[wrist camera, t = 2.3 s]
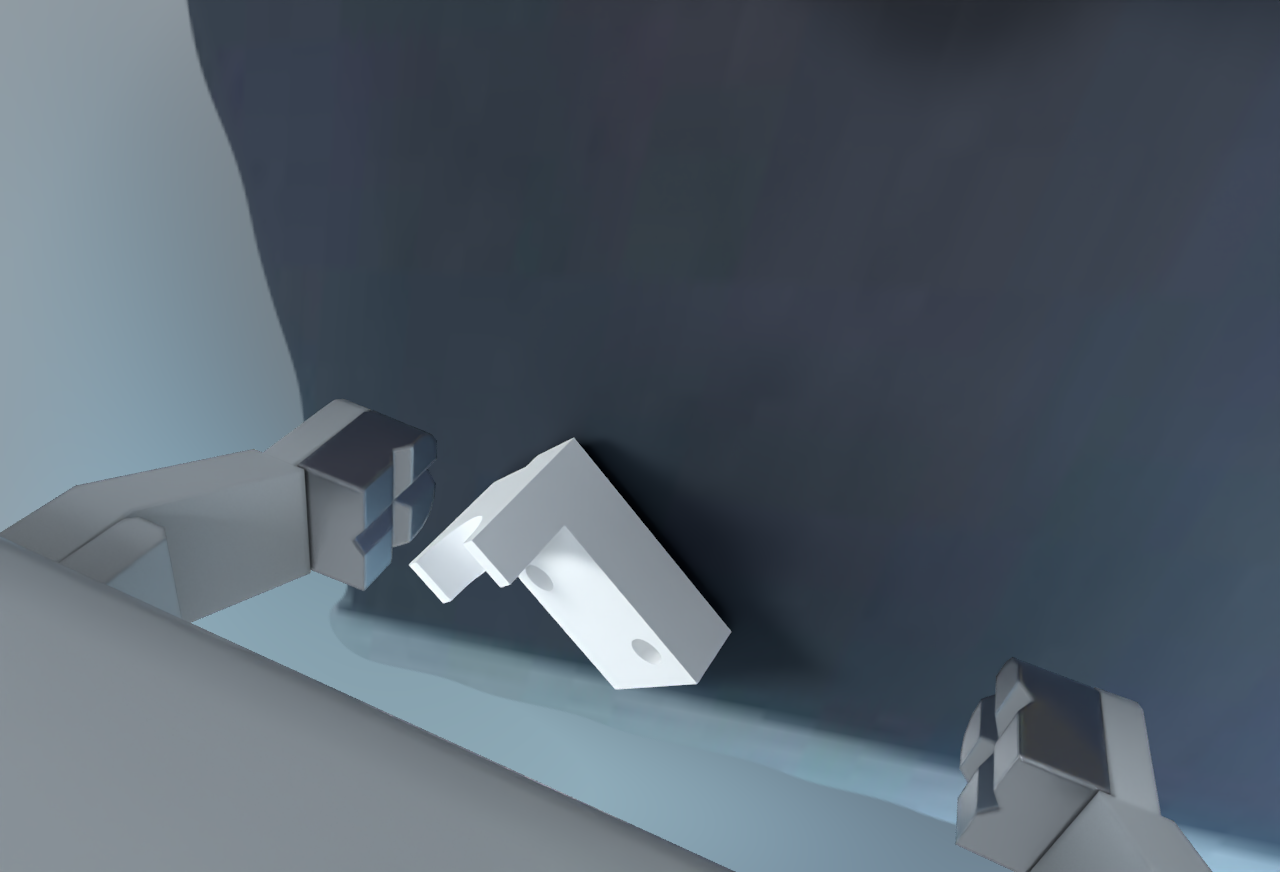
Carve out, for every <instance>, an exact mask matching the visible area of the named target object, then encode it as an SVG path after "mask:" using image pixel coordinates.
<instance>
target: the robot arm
mask: <svg viewBox="0 0 1280 872" xmlns="http://www.w3.org/2000/svg"><path fill="white" fill-rule="evenodd" d="M436 459H437V440H436V439H435V438H434V437H433V435H432V434H430V433H427V432H425V431H422V430H420V429H417V428H415V427H413V426H410V425H408V424H405V423H403V422H400V421H398V420H396V419H393V418H391V417H388V416H386V415H383V414H381V413H379V412H376V411H374V410H373V411H371V410H369V409H367V408H365V407H362V406H360V405H357V404H355V403H353V402H350V401H348V400H345V399H339V400H334V401H332V402H331V403H329V404H328V405H326V406H325V407H324V408H322V409H321V410H320V411H318V412H317V413H316V414H314V415H313V416H312V417H310V418H309V419H307V420H306V421H305V422H303V423H302V424H301V425H299V426H298V427H297V428H295V429H294V430H293V431H291V432H290V433H288V434H287V435H286V436H284V437H283V438H282V439H280V440H279V441H278V442H276V443H275V444H274V445H272V446H271V447H270V448H268V449H267V450H265V451H264V452H263V453H262V452H260V451H257V450H255V449H252V450H247V451H242V452H237V453H232V454H227V455H222V456H217V457H213V458H208V459H203V460H198V461H193V462H189V463H183V464H178V465H174V466H169V467H164V468H159V469H154V470H149V471H145V472H140V473H135V474H130V475H125V476H120V477H115V478H110V479H105V480H101V481H96V482H91V483H86V484H82V485H76V486H74V487H72V488H71V489H69V490H68V491H66V492H64V493H63V494H61V495H60V496H58V497H56V498H55V499H53V500H52V501H50V502H49V503H47V504H45V505H44V506H42V507H40V508H39V509H37V510H36V511H34V512H32V513H31V514H30V515H28V516H26V517H25V518H23V519H21V520H20V521H18V522H17V523H15V524H13V525H12V526H10V527H9V528H7V529H5V530H4V531H2V532H1V533H0V872H735V871H732V870H730V869H728V868H726V867H724V866H721V865H719V864H717V863H715V862H713V861H710V860H708V859H706V858H704V857H702V856H700V855H697V854H695V853H693V852H691V851H689V850H686V849H684V848H682V847H680V846H677V845H676V844H673V843H671V842H669V841H666V840H664V839H662V838H660V837H658V836H656V835H654V834H651V833H649V832H647V831H645V830H643V829H640V828H638V827H636V826H634V825H632V824H630V823H627V822H625V821H623V820H621V819H618V818H616V817H614V816H612V815H610V814H608V813H605V812H603V811H601V810H599V809H597V808H595V807H592V806H590V805H588V804H586V803H583V802H581V801H579V800H577V799H575V798H572V797H570V796H568V795H566V794H564V793H562V792H559V791H557V790H555V789H553V788H551V787H549V786H546V785H544V784H542V783H540V782H538V781H535V780H533V779H531V778H529V777H526V776H524V775H522V774H520V773H518V772H516V771H514V770H511V769H509V768H507V767H505V766H502V765H500V764H498V763H496V762H494V761H492V760H489V759H487V758H485V757H483V756H481V755H478V754H476V753H474V752H472V751H470V750H467V749H465V748H463V747H461V746H459V745H457V744H454V743H452V742H450V741H448V740H445V739H443V738H441V737H439V736H437V735H434V734H432V733H430V732H428V731H426V730H424V729H422V728H419V727H417V726H415V725H413V724H411V723H408V722H406V721H404V720H402V719H400V718H397V717H395V716H393V715H391V714H389V713H386V712H384V711H382V710H380V709H378V708H375V707H373V706H371V705H369V704H367V703H365V702H362V701H360V700H358V699H356V698H353V697H351V696H349V695H347V694H345V693H342V692H341V691H338V690H336V689H334V688H332V687H329V686H327V685H325V684H323V683H321V682H319V681H316V680H314V679H312V678H310V677H308V676H305V675H303V674H301V673H299V672H297V671H295V670H292V669H290V668H288V667H286V666H283V665H281V664H279V663H277V662H275V661H273V660H270V659H268V658H266V657H264V656H261V655H259V654H257V653H255V652H253V651H251V650H248V649H246V648H244V647H242V646H240V645H237V644H235V643H233V642H231V641H229V640H227V639H224V638H222V637H220V636H218V635H216V634H213V633H211V632H209V631H207V630H205V629H202V628H200V627H198V626H196V625H193V624H192V623H191V622H193V621H196V620H198V619H201V618H203V617H206V616H208V615H210V614H213V613H215V612H218V611H220V610H223V609H225V608H227V607H230V606H232V605H235V604H237V603H239V602H242V601H244V600H247V599H249V598H252V597H254V596H256V595H259V594H261V593H264V592H266V591H268V590H271V589H273V588H276V587H278V586H281V585H283V584H285V583H288V582H290V581H293V580H295V579H298V578H300V577H302V576H305V575H307V574H309V573H310V572H311V570H312V571H315V572H318V573H320V574H323V575H325V576H328V577H330V578H333V579H335V580H338V581H341V582H343V583H345V584H348V585H350V586H353V587H355V588H358V589H360V590H363V591H365V590H366V588H367V587H368V586H369V585H370V584H371V583H372V582H373V581H374V580H375V579H376V578H377V577H378V576H379V575H380V574H381V573H382V571H383V570H384V569H385V568H386V567H387V566H388V565H389V564H390V563H391V562H392V547H396V546H399V545H402V544H405V543H409V542H410V541H411V540H412V539H413V538H414V537H415V536H416V535H417V534H418V532H419V531H420V530H421V529H422V527H423V525H424V523H425V521H426V520H427V518H428V516H429V514H430V512H431V509H432V505H433V501H434V497H435V484H436V483H435V481H434V480H433V478H432V476H431V474H430V472H429V470H428V469H427V468H428V467H429V466H430V465H431V464H432V463H433V462H434V461H435V460H436ZM960 770H961V772H962V774H963V775H964V777H965V779H966V780H967V782H968V784H967V785H966V787H965V788H964V790H963V791H962V793H961V794H960V796H959V797H958V802H957V822H956V841H955V844H956V845H958V846H960V847H962V848H964V849H966V850H969V851H971V852H973V853H975V854H977V855H979V856H982V857H984V858H986V859H988V860H990V861H993V862H995V863H997V864H999V865H1001V866H1004V867H1006V868H1008V869H1010V870H1012V871H1014V872H1212V871H1211V869H1210V868H1209V867H1208V865H1207V864H1206V863H1205V861H1204V860H1203V859H1202V858H1201V856H1200V855H1199V854H1198V852H1197V851H1196V850H1195V848H1194V847H1193V846H1192V844H1191V843H1190V842H1189V840H1188V839H1187V838H1186V836H1185V835H1184V834H1183V832H1182V831H1181V830H1180V828H1179V827H1178V826H1177V825H1176V823H1175V822H1174V821H1172V820H1170V819H1167V818H1165V817H1162V816H1161V812H1160V806H1159V800H1158V794H1157V789H1156V783H1155V777H1154V771H1153V765H1152V759H1151V753H1150V748H1149V742H1148V736H1147V730H1146V724H1145V718H1144V712H1143V709H1142V708H1141V707H1140V705H1139V704H1138V703H1137V702H1135V701H1132V700H1129V699H1126V698H1124V697H1121V696H1118V695H1115V694H1113V693H1110V692H1107V691H1104V690H1102V689H1099V688H1096V687H1095V688H1092V687H1091V686H1088V685H1086V684H1083V683H1080V682H1078V681H1075V680H1072V679H1070V678H1067V677H1064V676H1062V675H1059V674H1057V673H1054V672H1051V671H1049V670H1046V669H1043V668H1041V667H1038V666H1035V665H1033V664H1030V663H1027V662H1025V661H1022V660H1019V659H1017V658H1014V657H1012V658H1010V659H1009V660H1008V661H1007V662H1006V663H1005V664H1004V665H1003V667H1002V668H1001V670H1000V671H999V673H998V674H997V676H996V693H995V695H992V696H989V697H985V698H982V699H981V701H980V702H979V704H978V706H977V707H976V709H975V711H974V712H973V714H972V716H971V718H970V721H969V724H968V726H967V729H966V732H965V734H964V738H963V743H962V748H961V756H960Z"/></svg>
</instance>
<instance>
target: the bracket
mask: <svg viewBox="0 0 1280 872" xmlns="http://www.w3.org/2000/svg"><path fill="white" fill-rule="evenodd" d="M409 566H410V567H411V568H412V569H413V570H414V571H415V572H416V573H417V575H418V576H419V577H420V578H421V579H422V580H423V581H424V582H425V583H426V585H427V586H428V587H429V588H430V589H431V590H432V591H433V592H434V594H435V595H436V596H437V597H438V598H439V599H440V600H441V601H442V602H443V603H446V602H449V601H452V600H453V599H454V598H455V597H456V596H457V595H458V594H459V593H460V592H461V591H462V590H463V589H464V588H465V587H466V586H467V585H468V584H470V583H471V582H472V581H473V580H474V579H476V578H477V577H478V576H479V575H481V574H482V573H483V572H485V571H486V572H487V573H488V574H489V575H490V576H491V577H492V578H493V580H494V581H495V582H496V583H497V584H498V585H499V586H500V587H503V586H507V585H510V584H511V583H512V582H513V581H514V580H515V579H516V578H517V577H519V579H520V580H521V581H522V582H523V583H524V584H525V586H526V587H527V588H528V589H529V590H530V591H531V592H532V594H533V595H534V596H535V597H536V598H537V599H538V601H539V602H540V603H541V604H542V605H543V606H544V608H545V609H546V610H547V611H548V612H549V613H550V614H551V616H552V617H553V618H554V619H555V620H556V621H557V623H558V624H559V625H560V626H561V627H562V628H563V629H564V631H565V632H566V633H567V634H568V635H569V636H570V638H571V639H572V640H573V641H574V642H575V643H576V645H577V646H578V647H579V648H580V649H581V650H582V651H583V653H584V654H585V655H586V656H587V657H588V658H589V660H590V661H591V662H592V663H593V664H594V665H595V666H596V668H597V669H598V670H599V671H600V672H601V673H602V675H603V676H604V677H605V678H606V679H607V680H608V682H609V683H610V684H611V685H612V686H613V687H614V688H615V689H630V688H645V687H659V686H674V685H689V684H698V682H699V681H700V679H701V678H702V676H703V675H704V673H705V671H706V670H707V668H708V667H709V665H710V664H711V662H712V661H713V659H714V658H715V656H716V655H717V653H718V652H719V650H720V648H721V647H722V645H723V644H724V642H725V641H726V639H727V638H728V636H729V635H730V633H731V630H730V629H729V628H728V627H727V625H726V624H725V623H724V622H723V621H722V619H721V618H720V617H719V616H718V614H717V613H716V612H715V611H714V609H713V608H712V607H711V606H710V604H709V603H708V602H707V601H706V600H705V598H704V597H703V596H702V595H701V593H700V592H699V591H698V590H697V588H696V587H695V586H694V585H693V584H692V582H691V581H690V580H689V579H688V577H687V576H686V575H685V574H684V572H683V571H682V570H681V569H680V568H679V566H678V565H677V564H676V563H675V561H674V560H673V559H672V558H671V556H670V555H669V554H668V553H667V551H666V550H665V549H664V548H663V547H662V545H661V544H660V543H659V542H658V540H657V539H656V538H655V537H654V535H653V534H652V533H651V532H650V531H649V529H648V528H647V527H646V526H645V524H644V523H643V522H642V521H641V519H640V518H639V517H638V516H637V515H636V513H635V512H634V511H633V510H632V508H631V507H630V506H629V505H628V503H627V502H626V501H625V500H624V498H623V497H622V496H621V495H620V494H619V492H618V491H617V490H616V489H615V487H614V486H613V485H612V484H611V482H610V481H609V480H608V479H607V478H606V476H605V475H604V474H603V473H602V471H601V470H600V469H599V468H598V466H597V465H596V464H595V463H594V462H593V460H592V459H591V458H590V457H589V455H588V454H587V453H586V452H585V450H584V449H583V448H582V447H581V445H580V444H579V443H578V442H577V441H576V439H575V438H572V439H570V440H568V441H566V442H564V443H562V444H560V445H558V446H556V447H554V448H552V449H550V450H548V451H546V452H543V453H541V454H539V455H537V456H536V457H535V458H534V459H533V460H532V461H531V462H530V463H529V464H528V465H527V466H526V467H524V468H522V469H520V470H518V471H516V472H514V473H512V474H510V475H508V476H506V477H504V478H502V479H499V480H497V481H495V482H494V483H493V484H492V485H491V486H490V487H489V488H488V489H487V490H486V491H484V492H483V493H482V494H481V495H480V496H479V497H478V498H477V499H476V500H475V501H474V502H473V503H472V504H471V505H470V506H469V507H468V508H467V509H466V510H465V511H464V512H463V513H462V514H461V515H460V516H459V517H458V518H457V519H456V520H454V521H453V522H452V523H451V524H450V525H449V526H448V527H447V528H446V529H445V530H444V531H443V532H442V533H441V534H440V535H439V536H438V537H437V538H436V539H435V540H434V541H433V542H432V543H431V544H430V545H429V546H428V547H427V548H426V549H424V550H423V551H422V552H421V553H420V554H419V555H418V556H417V557H416V558H415V559H414V560H413V561H412V562H411V563H410V564H409Z"/></svg>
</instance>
